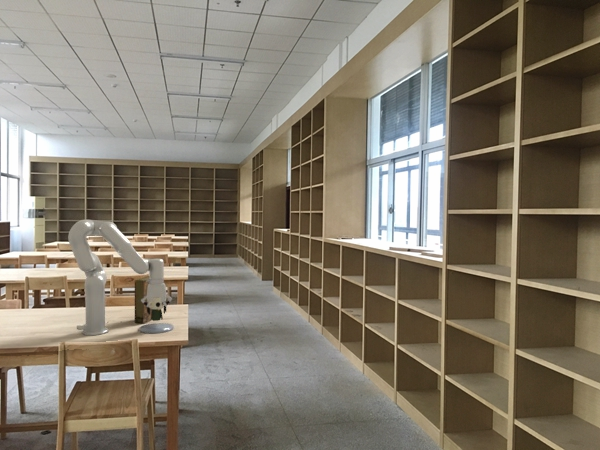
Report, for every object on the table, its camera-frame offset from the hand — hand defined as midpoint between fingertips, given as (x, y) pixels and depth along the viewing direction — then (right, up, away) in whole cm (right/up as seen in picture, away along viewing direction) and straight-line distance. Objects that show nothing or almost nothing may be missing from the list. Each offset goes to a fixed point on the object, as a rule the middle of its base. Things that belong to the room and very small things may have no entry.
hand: (156, 313), depth 260 cm
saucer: (0, -9, 0) cm, 9 cm away
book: (-12, -8, +19) cm, 24 cm away
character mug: (0, -4, 0) cm, 4 cm away
